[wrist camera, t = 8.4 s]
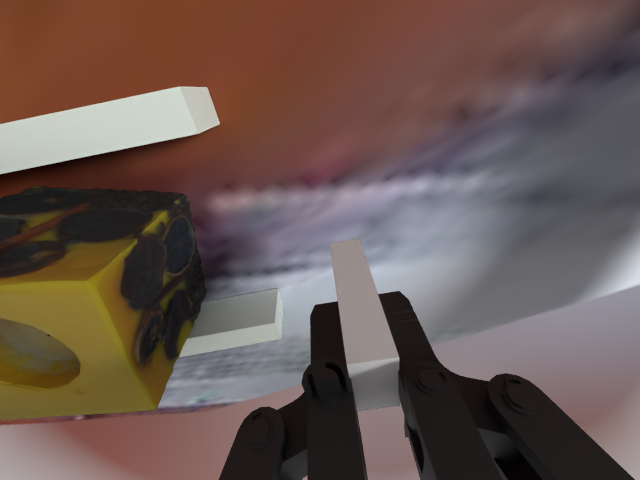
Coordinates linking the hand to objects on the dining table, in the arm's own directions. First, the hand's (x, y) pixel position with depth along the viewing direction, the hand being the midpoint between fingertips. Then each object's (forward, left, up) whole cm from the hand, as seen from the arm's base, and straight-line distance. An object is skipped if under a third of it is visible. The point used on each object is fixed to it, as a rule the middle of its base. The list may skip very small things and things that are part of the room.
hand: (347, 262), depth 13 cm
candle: (+16, 0, -7) cm, 18 cm away
